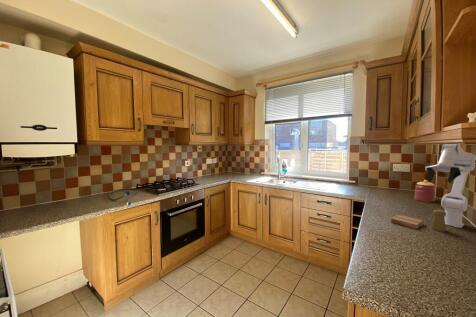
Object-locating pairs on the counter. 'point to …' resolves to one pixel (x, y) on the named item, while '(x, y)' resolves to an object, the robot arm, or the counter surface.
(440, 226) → the olive rounded piece
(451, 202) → the robot arm
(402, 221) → the tan flat block
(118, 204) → the counter surface
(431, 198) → the canister
